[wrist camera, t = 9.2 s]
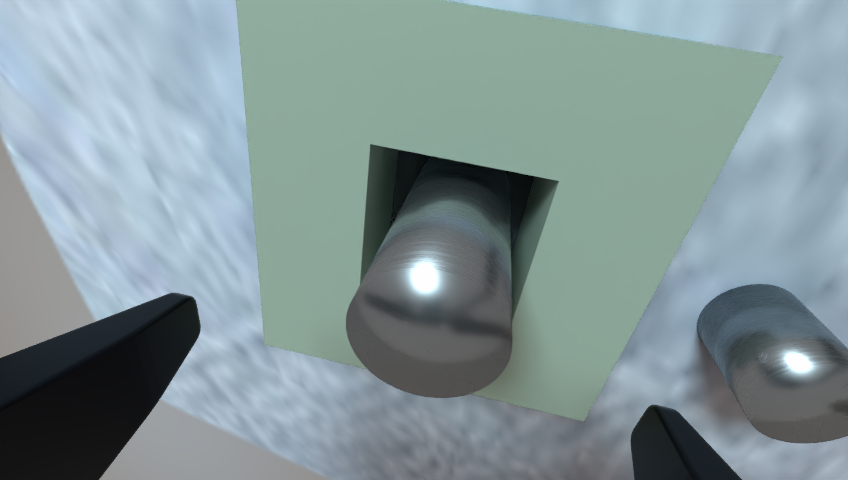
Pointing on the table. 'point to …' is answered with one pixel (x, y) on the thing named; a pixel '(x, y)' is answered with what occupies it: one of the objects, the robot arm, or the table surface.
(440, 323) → the long pin
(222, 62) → the table surface
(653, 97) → the hole block
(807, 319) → the short pin
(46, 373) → the robot arm
